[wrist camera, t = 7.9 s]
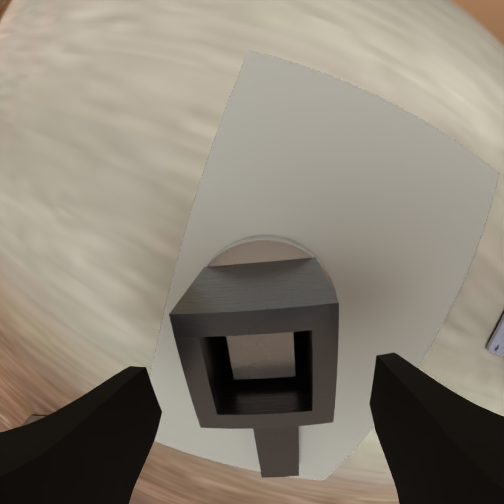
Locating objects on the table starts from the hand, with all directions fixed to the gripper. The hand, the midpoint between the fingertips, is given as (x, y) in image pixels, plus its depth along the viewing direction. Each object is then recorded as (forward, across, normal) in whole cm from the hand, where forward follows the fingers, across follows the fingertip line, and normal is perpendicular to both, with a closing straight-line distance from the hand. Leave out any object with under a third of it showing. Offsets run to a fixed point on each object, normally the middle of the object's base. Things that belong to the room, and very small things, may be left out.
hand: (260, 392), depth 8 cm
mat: (+8, -2, +3) cm, 8 cm away
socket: (+6, 0, 0) cm, 6 cm away
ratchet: (+7, 0, +6) cm, 9 cm away
